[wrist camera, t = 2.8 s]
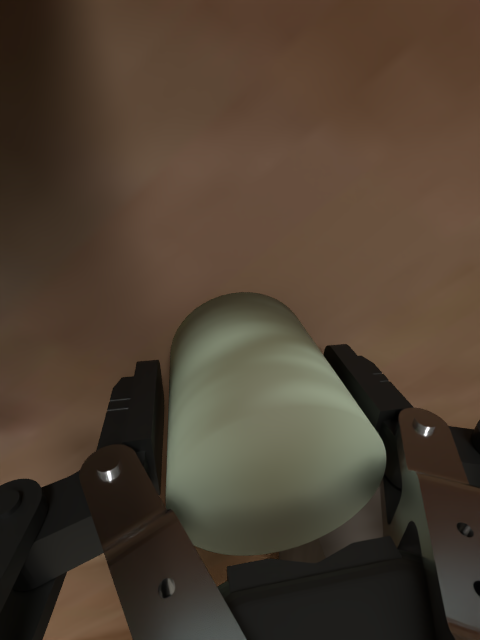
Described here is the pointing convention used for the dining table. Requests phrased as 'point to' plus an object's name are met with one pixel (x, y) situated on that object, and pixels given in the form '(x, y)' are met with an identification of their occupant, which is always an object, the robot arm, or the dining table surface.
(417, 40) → the dining table surface
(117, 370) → the dining table surface
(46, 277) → the dining table surface
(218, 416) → the sage cylinder
